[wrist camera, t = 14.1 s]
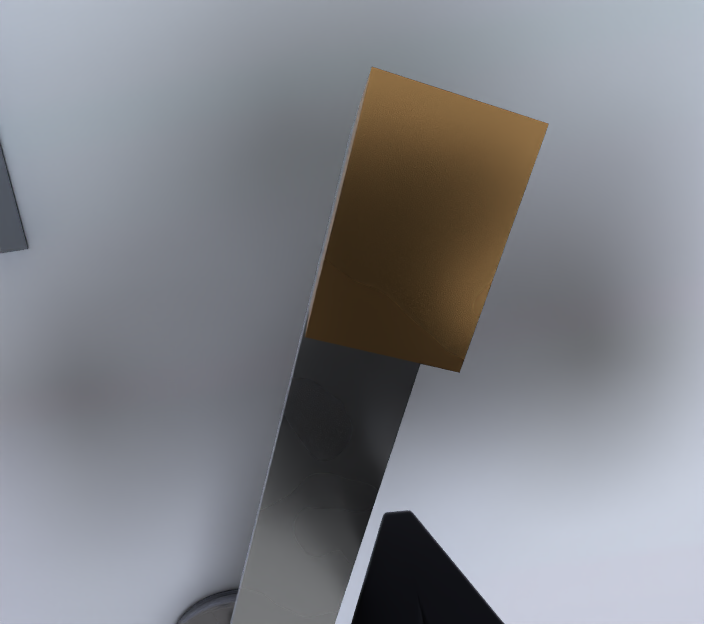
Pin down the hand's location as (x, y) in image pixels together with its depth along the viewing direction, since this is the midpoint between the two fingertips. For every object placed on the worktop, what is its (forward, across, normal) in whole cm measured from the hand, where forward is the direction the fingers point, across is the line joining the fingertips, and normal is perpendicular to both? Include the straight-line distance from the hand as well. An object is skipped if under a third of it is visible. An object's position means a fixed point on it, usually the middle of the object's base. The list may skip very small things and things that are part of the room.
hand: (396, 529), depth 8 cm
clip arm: (0, +2, +1) cm, 3 cm away
